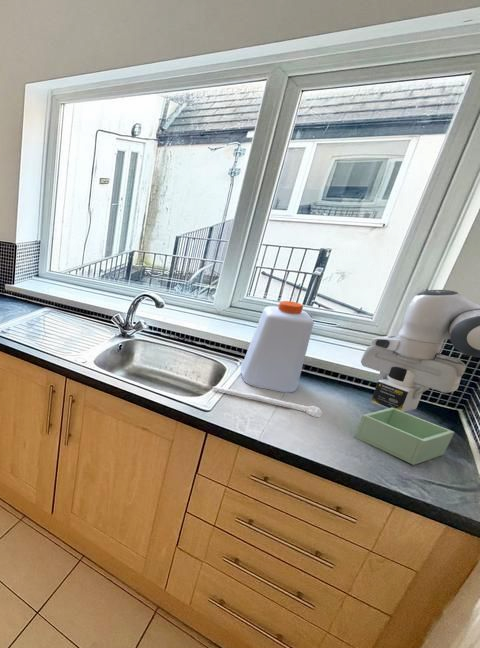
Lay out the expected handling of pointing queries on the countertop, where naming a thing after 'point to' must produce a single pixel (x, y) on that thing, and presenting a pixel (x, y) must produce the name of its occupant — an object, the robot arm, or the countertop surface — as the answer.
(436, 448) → the bin
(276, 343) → the plastic bottle
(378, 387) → the medicine bottle
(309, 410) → the white knobbed stick
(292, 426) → the countertop surface
